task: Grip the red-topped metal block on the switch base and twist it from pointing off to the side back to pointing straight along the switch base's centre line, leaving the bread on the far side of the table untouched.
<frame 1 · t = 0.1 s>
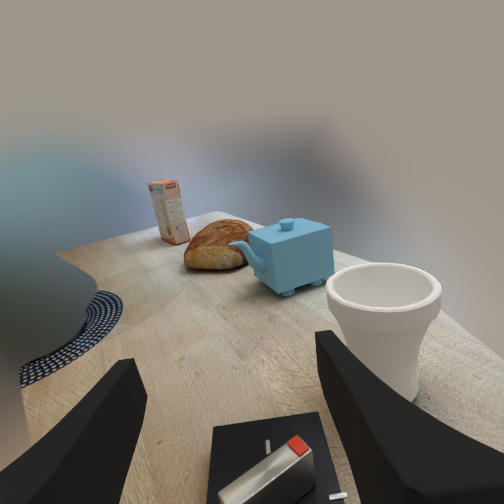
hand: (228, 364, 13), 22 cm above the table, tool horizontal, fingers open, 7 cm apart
cup: (382, 391, 39), on the table
red-topped metal block: (270, 487, 25), point 5 cm above the table, hinge at -60.0°
teapot: (287, 285, 69), on the table
cracker box: (176, 240, 116), on the table
bread: (222, 260, 89), on the table
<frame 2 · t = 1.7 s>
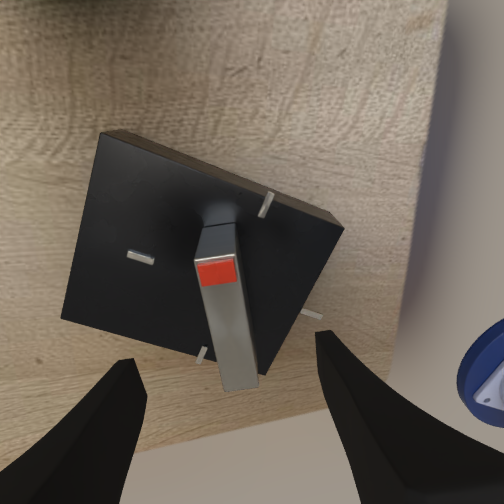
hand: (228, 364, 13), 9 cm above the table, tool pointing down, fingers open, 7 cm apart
red-topped metal block: (230, 307, 17), point 5 cm above the table, hinge at -60.0°
switch base: (202, 253, 21), on the table
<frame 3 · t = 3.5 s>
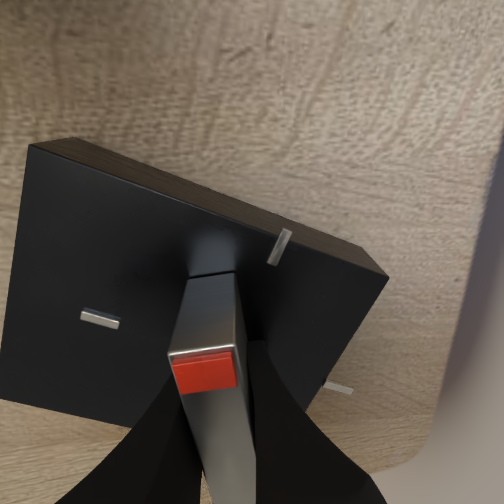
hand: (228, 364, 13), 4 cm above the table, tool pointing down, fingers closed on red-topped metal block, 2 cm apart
red-topped metal block: (227, 396, 11), point 5 cm above the table, hinge at -60.1°, touching gripper
switch base: (190, 300, 16), on the table
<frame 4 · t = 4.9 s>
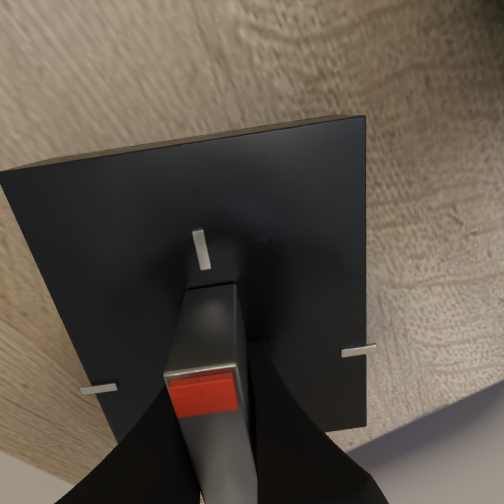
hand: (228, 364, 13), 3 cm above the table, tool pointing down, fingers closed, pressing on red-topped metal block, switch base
red-topped metal block: (227, 414, 11), point 5 cm above the table, hinge at -0.3°, touching gripper
switch base: (222, 286, 15), on the table
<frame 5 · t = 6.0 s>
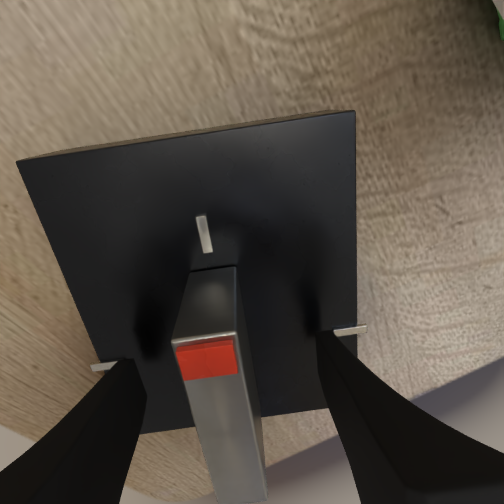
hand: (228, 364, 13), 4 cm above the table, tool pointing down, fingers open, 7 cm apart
red-topped metal block: (227, 386, 12), point 5 cm above the table, hinge at -0.3°
switch base: (222, 272, 16), on the table
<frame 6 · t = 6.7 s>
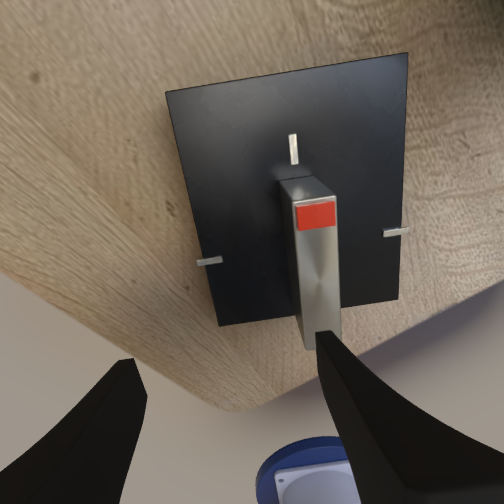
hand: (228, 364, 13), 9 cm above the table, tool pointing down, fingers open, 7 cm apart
red-topped metal block: (310, 262, 16), point 5 cm above the table, hinge at -0.3°
switch base: (290, 197, 20), on the table
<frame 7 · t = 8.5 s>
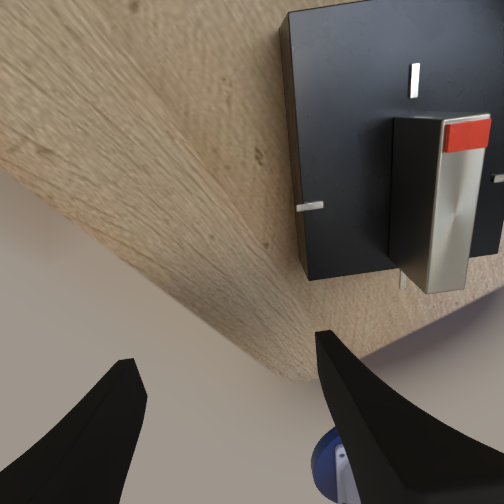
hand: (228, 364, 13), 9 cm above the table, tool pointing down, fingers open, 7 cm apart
red-topped metal block: (430, 202, 15), point 5 cm above the table, hinge at -0.3°
switch base: (384, 145, 19), on the table
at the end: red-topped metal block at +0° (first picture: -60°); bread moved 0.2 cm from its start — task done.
